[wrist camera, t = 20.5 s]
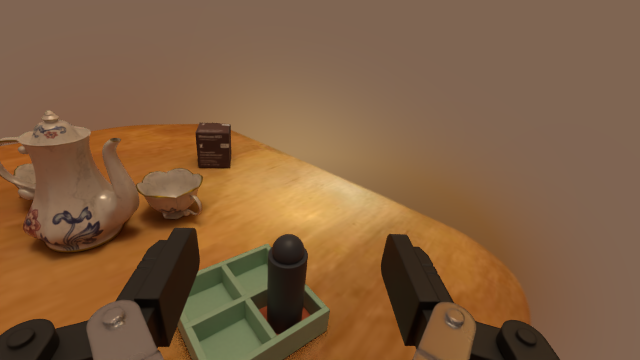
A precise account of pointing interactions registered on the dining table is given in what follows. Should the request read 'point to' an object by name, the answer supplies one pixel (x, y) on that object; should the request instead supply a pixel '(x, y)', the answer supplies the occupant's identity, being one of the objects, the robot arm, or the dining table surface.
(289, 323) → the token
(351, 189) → the dining table surface
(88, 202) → the chinaware
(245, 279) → the grid
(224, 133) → the box
